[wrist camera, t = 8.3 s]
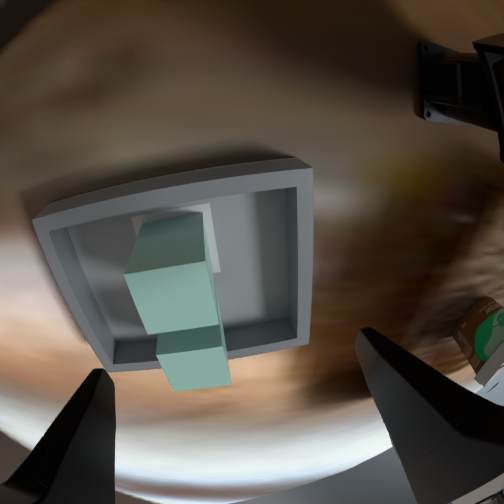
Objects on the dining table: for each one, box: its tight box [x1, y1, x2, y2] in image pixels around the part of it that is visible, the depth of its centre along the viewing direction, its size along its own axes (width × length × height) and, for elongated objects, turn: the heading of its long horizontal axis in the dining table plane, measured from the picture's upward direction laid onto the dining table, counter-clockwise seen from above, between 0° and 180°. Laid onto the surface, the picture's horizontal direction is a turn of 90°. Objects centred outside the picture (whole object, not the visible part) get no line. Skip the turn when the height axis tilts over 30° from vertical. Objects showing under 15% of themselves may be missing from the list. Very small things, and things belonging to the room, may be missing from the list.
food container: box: [453, 297, 504, 387], centre depth 28 cm, size 12×6×10 cm, turn 105°
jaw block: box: [124, 212, 219, 334], centre depth 17 cm, size 4×4×6 cm
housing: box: [32, 157, 314, 392], centre depth 18 cm, size 17×14×6 cm
